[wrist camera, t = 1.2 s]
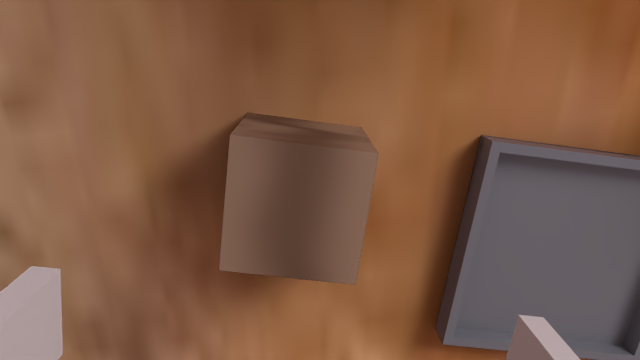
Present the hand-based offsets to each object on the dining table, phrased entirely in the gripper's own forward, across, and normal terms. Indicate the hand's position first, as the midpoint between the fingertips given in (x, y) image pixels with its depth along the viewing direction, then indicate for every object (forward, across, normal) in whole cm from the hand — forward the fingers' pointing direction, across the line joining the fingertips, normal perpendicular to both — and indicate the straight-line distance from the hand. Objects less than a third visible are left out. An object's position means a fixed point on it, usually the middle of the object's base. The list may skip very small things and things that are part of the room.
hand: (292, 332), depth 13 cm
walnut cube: (+17, 0, 0) cm, 17 cm away
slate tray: (+16, +18, -3) cm, 25 cm away
